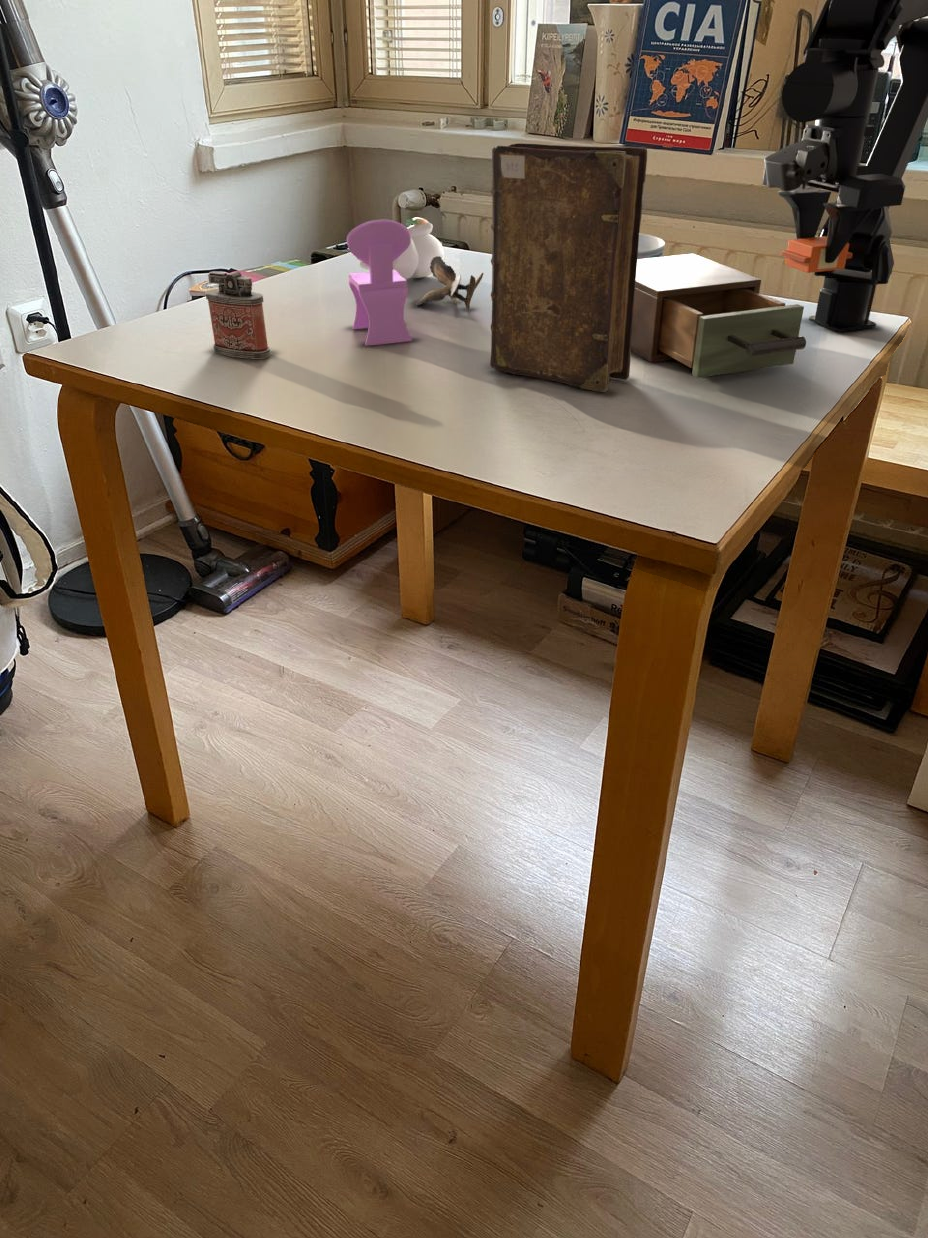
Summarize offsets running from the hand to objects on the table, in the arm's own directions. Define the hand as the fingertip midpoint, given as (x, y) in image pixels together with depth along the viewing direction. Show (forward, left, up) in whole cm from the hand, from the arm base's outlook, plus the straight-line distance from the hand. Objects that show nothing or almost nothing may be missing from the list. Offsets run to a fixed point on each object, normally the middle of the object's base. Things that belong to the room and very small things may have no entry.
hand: (815, 258), depth 116 cm
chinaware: (+11, -32, -11) cm, 35 cm away
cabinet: (+14, -9, -11) cm, 20 cm away
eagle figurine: (+36, -36, -11) cm, 52 cm away
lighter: (+68, -25, -11) cm, 73 cm away
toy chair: (+49, -26, -11) cm, 56 cm away
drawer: (+14, +4, -10) cm, 17 cm away
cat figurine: (+37, -54, -11) cm, 66 cm away
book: (+34, -2, -11) cm, 36 cm away
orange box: (0, 0, -1) cm, 1 cm away
